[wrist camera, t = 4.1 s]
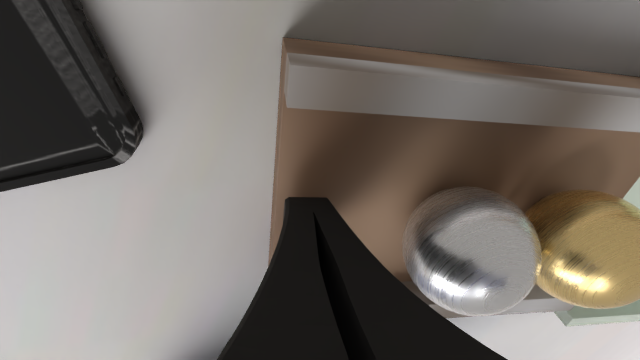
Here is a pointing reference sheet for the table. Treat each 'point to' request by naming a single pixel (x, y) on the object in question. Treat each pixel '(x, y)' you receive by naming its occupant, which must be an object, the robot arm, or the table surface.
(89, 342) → the table surface
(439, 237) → the steel ball
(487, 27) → the table surface
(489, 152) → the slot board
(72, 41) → the phone
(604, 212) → the brass ball
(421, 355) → the robot arm
